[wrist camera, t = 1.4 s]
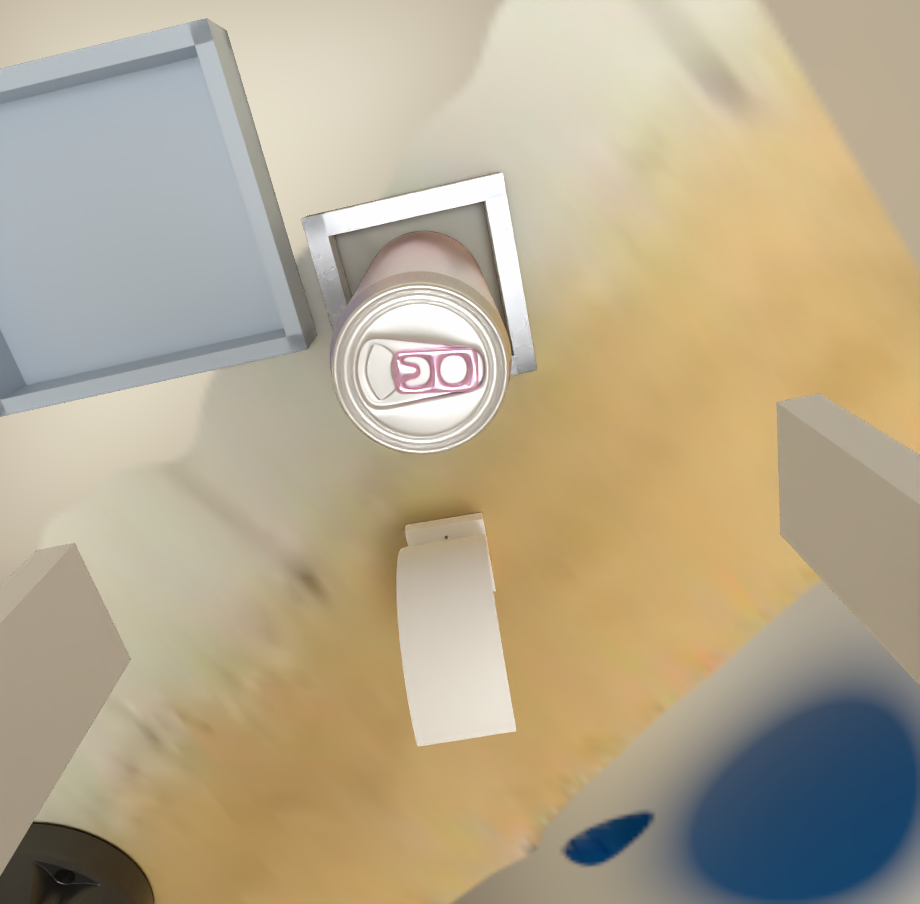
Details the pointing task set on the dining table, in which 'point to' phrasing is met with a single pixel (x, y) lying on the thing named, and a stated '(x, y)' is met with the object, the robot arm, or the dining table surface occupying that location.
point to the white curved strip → (451, 632)
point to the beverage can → (421, 348)
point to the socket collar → (416, 204)
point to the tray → (137, 221)
